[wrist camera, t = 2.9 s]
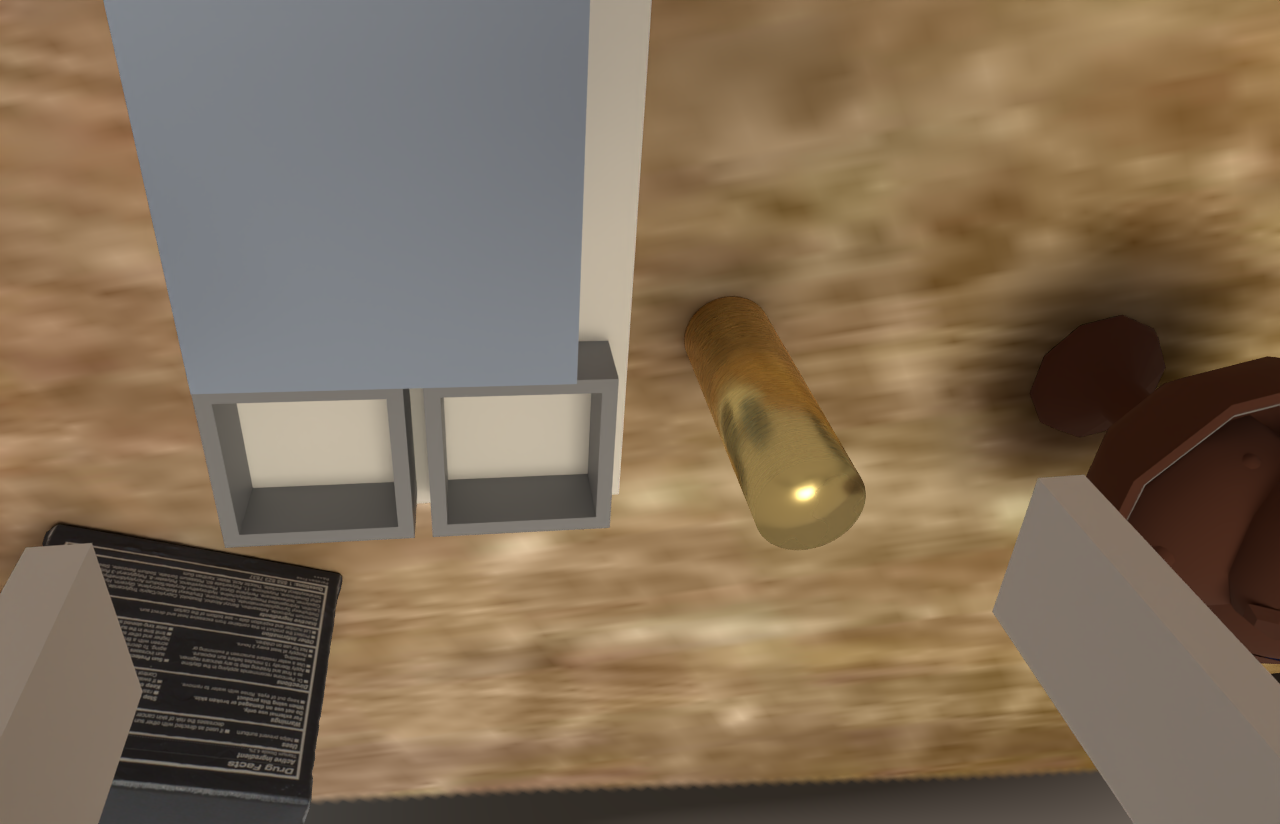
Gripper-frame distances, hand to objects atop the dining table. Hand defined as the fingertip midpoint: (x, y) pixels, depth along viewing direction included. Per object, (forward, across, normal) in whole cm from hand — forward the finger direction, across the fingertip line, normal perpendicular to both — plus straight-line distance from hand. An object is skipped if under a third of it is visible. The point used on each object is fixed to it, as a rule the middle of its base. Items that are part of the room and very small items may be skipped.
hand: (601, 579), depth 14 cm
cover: (+18, -3, +2) cm, 18 cm away
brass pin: (+20, +8, -7) cm, 22 cm away
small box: (+20, -13, -18) cm, 30 cm away
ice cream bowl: (+20, +23, -9) cm, 32 cm away
